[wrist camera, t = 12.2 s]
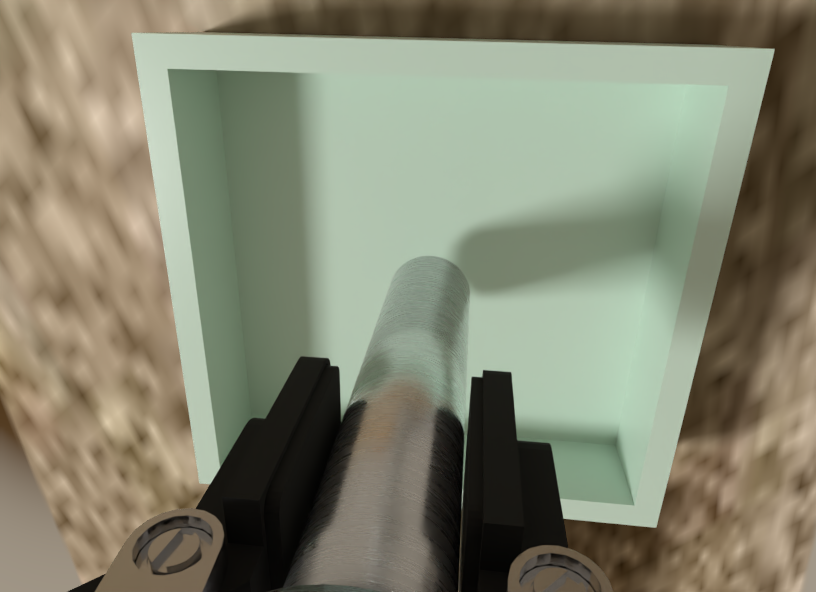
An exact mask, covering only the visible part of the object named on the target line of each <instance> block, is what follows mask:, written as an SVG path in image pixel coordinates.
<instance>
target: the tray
mask: <svg viewBox="0 0 816 592" xmlns="http://www.w3.org/2000/svg"><path fill="white" fill-rule="evenodd" d="M132 40H133V46H134V53H135V60H136V66H137V73H138V79H139V86H140V93H141V99H142V106H143V112H144V119H145V126H146V132H147V139H148V146H149V152H150V159H151V165H152V172H153V179H154V185H155V192H156V198H157V205H158V212H159V218H160V225H161V232H162V238H163V245H164V251H165V258H166V265H167V271H168V278H169V284H170V291H171V298H172V304H173V311H174V318H175V324H176V331H177V337H178V344H179V351H180V357H181V364H182V370H183V377H184V384H185V390H186V397H187V404H188V410H189V417H190V423H191V430H192V437H193V443H194V450H195V456H196V463H197V470H198V476H199V483H202V484H211V482H212V480H213V479H214V477H215V475H216V474H217V472H218V470H219V469H220V467H221V465H222V464H223V462H224V460H225V459H226V457H227V455H228V454H229V452H230V450H231V449H232V447H233V445H234V444H235V442H236V440H237V439H238V437H239V435H240V434H241V432H242V430H243V429H244V427H245V425H246V424H247V422H248V421H249V420H250V419H252V418H264V419H265V418H266V416H267V415H268V413H269V411H270V409H271V408H272V406H273V404H274V402H275V400H276V399H277V397H278V395H279V393H280V391H281V390H282V388H283V386H284V384H285V382H286V381H287V379H288V377H289V375H290V373H291V372H292V370H293V368H294V366H295V364H296V363H297V361H298V359H299V358H300V357H301V356H306V357H319V358H329V360H330V365H331V366H338V367H339V371H340V401H341V422H342V419H343V416H344V414H345V411H346V408H347V405H348V402H349V399H350V397H351V394H352V391H353V388H354V385H355V382H356V380H357V377H358V374H359V371H360V368H361V365H362V363H363V360H364V357H365V354H366V351H367V348H368V346H369V343H370V340H371V337H372V334H373V331H374V329H375V326H376V323H377V320H378V317H379V314H380V312H381V309H382V306H383V303H384V300H385V298H386V295H387V292H388V289H389V286H390V283H391V281H392V278H393V276H394V274H395V273H396V271H397V270H398V269H399V268H400V267H401V266H402V265H403V264H404V263H406V262H407V261H409V260H411V259H414V258H417V257H421V256H436V257H440V258H443V259H446V260H448V261H450V262H452V263H453V264H455V265H456V266H457V267H458V268H459V269H460V270H461V271H462V272H463V274H464V275H465V277H466V279H467V281H468V284H469V288H470V308H469V334H468V359H467V384H466V410H465V435H464V460H463V485H464V472H465V458H466V445H467V431H468V418H469V404H470V391H471V378H472V377H482V374H483V370H490V371H504V372H511V374H512V385H513V397H514V409H515V421H516V433H517V440H519V441H531V442H542V443H550V445H551V448H552V453H553V459H554V465H555V471H556V477H557V483H558V489H559V495H560V501H561V507H562V513H563V519H572V520H582V521H592V522H602V523H613V524H623V525H633V526H643V527H654V528H656V527H657V523H658V519H659V515H660V511H661V506H662V502H663V498H664V494H665V490H666V486H667V482H668V478H669V474H670V470H671V466H672V462H673V458H674V454H675V450H676V446H677V442H678V438H679V434H680V430H681V426H682V422H683V418H684V414H685V410H686V406H687V402H688V398H689V394H690V390H691V385H692V381H693V377H694V373H695V369H696V365H697V361H698V357H699V353H700V349H701V345H702V341H703V337H704V333H705V329H706V325H707V321H708V317H709V313H710V309H711V305H712V301H713V297H714V293H715V289H716V285H717V281H718V277H719V273H720V269H721V264H722V260H723V256H724V252H725V248H726V244H727V240H728V236H729V232H730V228H731V224H732V220H733V216H734V212H735V208H736V204H737V200H738V196H739V192H740V188H741V184H742V180H743V176H744V172H745V168H746V164H747V160H748V156H749V152H750V148H751V144H752V139H753V135H754V131H755V127H756V123H757V119H758V115H759V111H760V107H761V103H762V99H763V95H764V91H765V87H766V83H767V79H768V75H769V71H770V67H771V63H772V59H773V55H774V51H775V49H768V48H754V47H739V46H724V45H704V44H663V43H623V42H582V41H541V40H501V39H460V38H419V37H379V36H338V35H297V34H256V33H216V32H166V33H132ZM462 502H463V486H462Z"/></svg>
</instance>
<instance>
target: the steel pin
mask: <svg viewBox="0 0 816 592" xmlns="http://www.w3.org/2000/svg"><path fill="white" fill-rule="evenodd" d="M469 308H470V288H469V284H468V281H467V279H466V277H465V275H464V274H463V272H462V271H461V270H460V269H459V268H458V267H457V266H456V265H455V264H453V263H452V262H450V261H448V260H446V259H443V258H440V257H436V256H421V257H417V258H414V259H411V260H409V261H407V262H406V263H404V264H403V265H402V266H401V267H400V268H399V269H398V270H397V271H396V273H395V274H394V276H393V278H392V281H391V283H390V286H389V289H388V292H387V295H386V298H385V300H384V303H383V306H382V309H381V312H380V314H379V317H378V320H377V323H376V326H375V329H374V331H373V334H372V337H371V340H370V343H369V346H368V348H367V351H366V354H365V357H364V360H363V363H362V365H361V368H360V371H359V374H358V377H357V380H356V382H355V385H354V388H353V391H352V394H351V397H350V399H349V402H348V405H347V408H346V411H345V414H344V416H343V419H342V422H341V425H340V428H339V431H338V433H337V436H336V439H335V442H334V445H333V448H332V450H331V453H330V456H329V459H328V462H327V465H326V467H325V470H324V473H323V476H322V479H321V482H320V484H319V487H318V490H317V493H316V496H315V498H314V501H313V504H312V507H311V510H310V513H309V515H308V518H307V521H306V524H305V527H304V530H303V532H302V535H301V538H300V541H299V544H298V547H297V549H296V552H295V555H294V558H293V561H292V564H291V566H290V569H289V572H288V575H287V578H286V581H285V583H284V586H283V588H280V589H276V590H272V591H268V592H458V587H459V562H460V536H461V511H462V486H463V460H464V435H465V410H466V384H467V359H468V334H469Z"/></svg>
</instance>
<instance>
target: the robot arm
mask: <svg viewBox="0 0 816 592" xmlns="http://www.w3.org/2000/svg"><path fill="white" fill-rule="evenodd" d="M340 425H341V401H340V371H339V367H338V366H331V365H330V360H329V358H319V357H306V356H301V357H300V358H299V359H298V361H297V363H296V364H295V366H294V368H293V370H292V372H291V373H290V375H289V377H288V379H287V381H286V382H285V384H284V386H283V388H282V390H281V391H280V393H279V395H278V397H277V399H276V400H275V402H274V404H273V406H272V408H271V409H270V411H269V413H268V415H267V416H266V418H265V419H264V418H252V419H250V420H249V421H248V422H247V424H246V425H245V427H244V429H243V430H242V432H241V434H240V435H239V437H238V439H237V440H236V442H235V444H234V445H233V447H232V449H231V450H230V452H229V454H228V455H227V457H226V459H225V460H224V462H223V464H222V465H221V467H220V469H219V470H218V472H217V474H216V475H215V477H214V479H213V480H212V482H211V484H210V485H209V487H208V489H207V491H206V492H205V494H204V496H203V497H202V499H201V501H200V502H199V504H198V506H197V507H196V509H193V508H189V509H176V510H172V511H169V512H165V513H162V514H159V515H157V516H155V517H153V518H151V519H149V520H147V521H146V522H145V523H143V524H142V525H141V526H139V527H138V528H137V529H135V530H134V532H133V533H132V534H131V535H130V537H129V538H128V539H127V540H126V542H125V543H124V545H123V546H122V548H121V550H120V551H119V553H118V555H117V556H116V558H115V559H114V561H113V563H112V564H111V566H110V568H109V569H108V571H107V572H106V574H104V575H102V576H100V577H98V578H96V579H93V580H91V581H89V582H87V583H85V584H83V585H81V586H79V587H77V588H74V589H72V590H70V591H68V592H268V591H272V590H276V589H280V588H283V586H284V583H285V581H286V578H287V575H288V572H289V569H290V566H291V564H292V561H293V558H294V555H295V552H296V549H297V547H298V544H299V541H300V538H301V535H302V532H303V530H304V527H305V524H306V521H307V518H308V515H309V513H310V510H311V507H312V504H313V501H314V498H315V496H316V493H317V490H318V487H319V484H320V482H321V479H322V476H323V473H324V470H325V467H326V465H327V462H328V459H329V456H330V453H331V450H332V448H333V445H334V442H335V439H336V436H337V433H338V431H339V428H340ZM459 592H613V590H612V587H611V584H610V581H609V579H608V578H607V576H606V575H605V574H604V572H603V571H602V569H601V568H600V567H599V566H598V565H596V564H595V563H594V562H593V561H592V560H591V559H589V558H588V557H586V556H584V555H583V554H581V553H579V552H577V551H575V550H573V549H569V548H568V544H567V538H566V532H565V526H564V519H563V513H562V507H561V501H560V495H559V489H558V483H557V477H556V471H555V465H554V459H553V453H552V448H551V445H550V443H542V442H531V441H519V440H517V433H516V421H515V409H514V397H513V385H512V374H511V372H504V371H490V370H483V374H482V377H472V378H471V391H470V404H469V418H468V431H467V445H466V458H465V472H464V485H463V502H462V525H461V548H460V571H459Z"/></svg>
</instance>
